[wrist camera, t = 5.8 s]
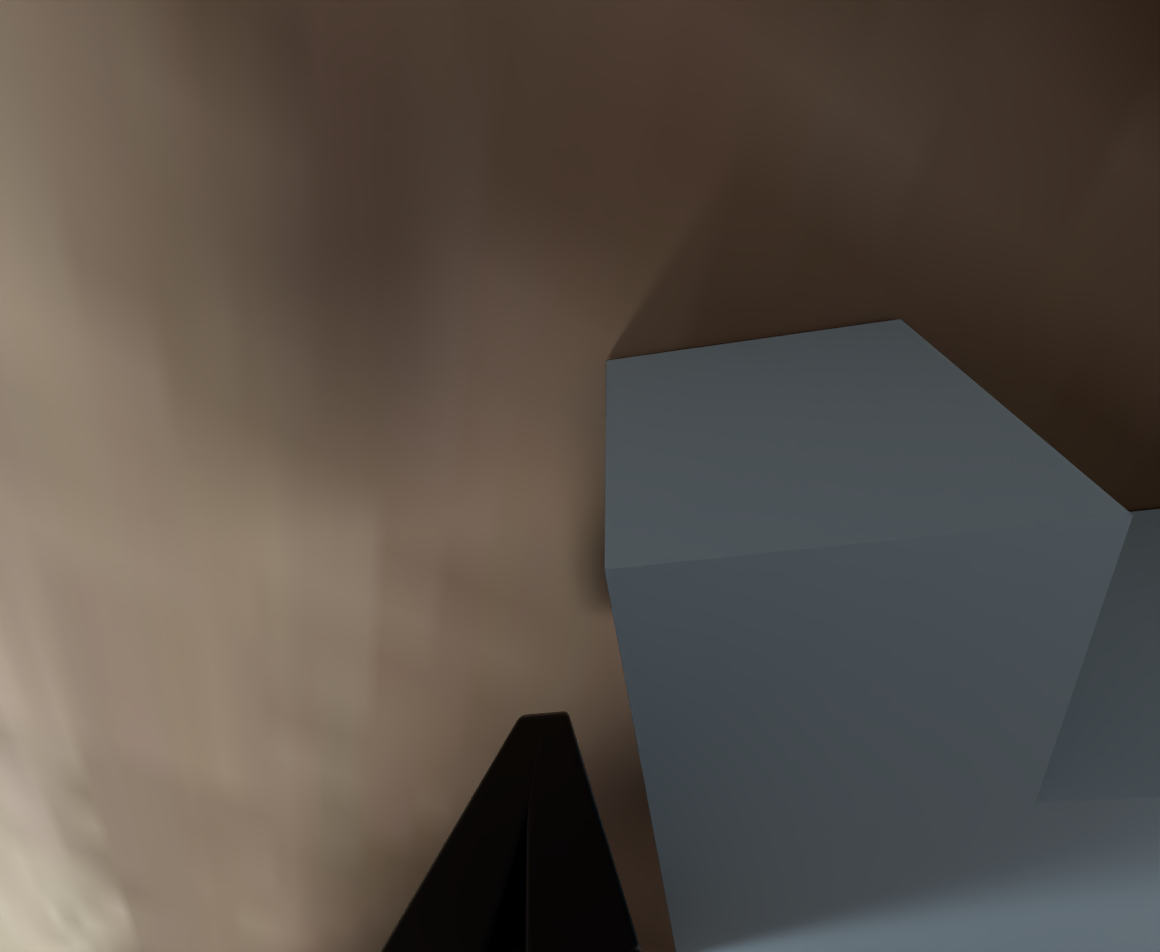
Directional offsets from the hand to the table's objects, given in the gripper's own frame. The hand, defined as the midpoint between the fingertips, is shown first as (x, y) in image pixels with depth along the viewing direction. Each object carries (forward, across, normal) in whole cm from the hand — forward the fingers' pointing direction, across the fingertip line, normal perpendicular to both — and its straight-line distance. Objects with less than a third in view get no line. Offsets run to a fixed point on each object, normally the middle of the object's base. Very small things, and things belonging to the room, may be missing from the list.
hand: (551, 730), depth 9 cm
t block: (+1, -7, 0) cm, 7 cm away
